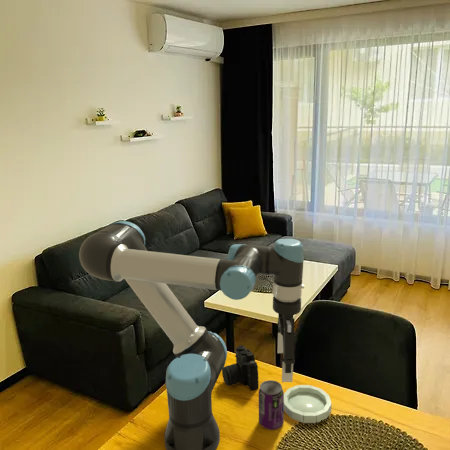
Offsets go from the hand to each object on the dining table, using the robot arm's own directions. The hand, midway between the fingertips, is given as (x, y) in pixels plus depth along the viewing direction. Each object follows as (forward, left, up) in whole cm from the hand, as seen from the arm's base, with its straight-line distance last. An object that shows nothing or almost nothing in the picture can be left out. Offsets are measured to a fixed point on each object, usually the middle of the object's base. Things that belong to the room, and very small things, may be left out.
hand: (284, 366), depth 122 cm
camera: (-14, +19, -18) cm, 29 cm away
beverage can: (-4, -1, -18) cm, 18 cm away
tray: (+7, +6, -18) cm, 20 cm away
